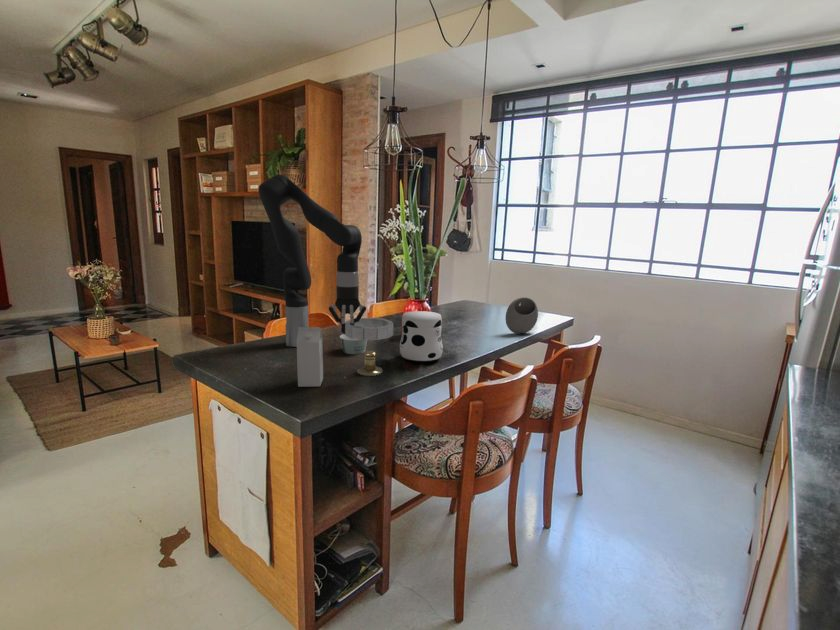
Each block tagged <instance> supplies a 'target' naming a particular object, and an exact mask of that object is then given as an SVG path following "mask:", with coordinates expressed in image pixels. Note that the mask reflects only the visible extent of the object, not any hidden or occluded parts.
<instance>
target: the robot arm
mask: <svg viewBox="0 0 840 630" xmlns="http://www.w3.org/2000/svg"><path fill="white" fill-rule="evenodd" d="M258 195H259V198H260V201H261V203H262V205H263V208H264V210H265V213H266V215H267V218H268V220H269V224H270V226H271V230H272V233H273V237H274V241H275V244H276V247H277V250H278V251H279V253H280V254H281V255H283V257H284V258H286V259H287V260H288V261H289V262H290V263H292V265H293V266H294V267H287V268H285V269H284V271H283V275H282V276H283V277H282V279H283V280H282V281H283V290H284V291H283V292H284V302H285V322H286V323H285V345H286V346H285V347H292V348H293V347H294V348H297V336H298V327H309V326H310V325H309V300H308V299H307V297H304V296H302V295H299V294H298V293H297V292H296V291H305V290H309V289H310V288H311V285H312V276H311V272H310V269H309V266H308V263H307V260H306V257H305V254H304V250H303V243H302V240H301V237H300V232H299V231H300V230H299V229H298V228H297V227H296V225H294V223H292V222H290V221H289V220H287V219H286V218H285V217H284V216H283V214H282V211H281V206H282V205H284V204H286V203H287V202H289V201H290V200H292V201H294V202H296V203H297V204H299V207H300V208H301V211H302V214H303V216H304V218H305V220H306V221H307V222H308V223H309V224H310V225H311V226H313V227H314V228H316V229H317V230H319V231H320V232H322V233H324V234H325V236H326V237H327V238H328V239H329V240H331V241H332V242H333V244H335V245H337V246H339V247H342V251H341V253H339V254H338V255H337V258H336V279H335V280H336V281H335V283H336V286H335V287H336V288H335V290H336V292H335V293H336V300H335V302H334V304H332V305H329V306H328V311H329V312H330V314H331V315H332V317H333V318H334V321H335V322H336V323H340V324H341V327H340V329H341V333H342V334H345V322H346V315H347V314H348V315H349V318H350V319H349V320H350V324H351V325H353V326H354V323H356V322H359V320H360V319H361V318H363V316H364V314H365V313H366V311H367V307H366V306H365V305H363V304H361V301H360V300H359V299H360V298H359V296H360V295H359V291H360V290H359V288H360V285H359V284H360V282H359V281H360V280H359V279H360V278H359V277H360V276H359V255H360V252H361V246H362V241H363V240H362V231H361V230H360V229H359V227H358V226H356V225H354V224H344V223H342V222H340V221H339V218H338V217H337V216H336V214H333V212H330V210H328V209H326V208H325V207H323V206H321V205H320V204H318V203H317V202H316V201H315V200H314V199H312V198H311V197H310V196H309V195H308V194H307V193H306V192H305V191H304V190H303V189H301V188H300V187H299V186H298V185H297V184H296V183H294V182H293V181H292V180H291V179H290V178H289V177H287V176H285V175H284V174H276V175H274V176H272V177H270V178H268V179H267V180H265V181H263V182H262V183H260V184H259V186H258ZM337 309H338V311H339V312H340V313H341V318H340V317H339V315H338V313H337V312H336V311H337ZM357 310H359V312H358V314H357V315H356V317H355V315H354V313H356V312H357ZM354 317H355V318H354Z"/></svg>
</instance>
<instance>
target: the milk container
mask: <svg viewBox="0 0 840 630" xmlns="http://www.w3.org/2000/svg"><path fill="white" fill-rule="evenodd" d="M442 320H443V319H442V315H441V314H440V313H438V312H433V311H426V310H423V311H422V310H417V311H407V312H404V313H403V314H402V318H401V323H402V324H401V338H400V342H399V355H400V356H401V357H402V359H404V360H405V361H409V362H413V363H431V362H435V361H437V360H440V358H441V357H442V355H443V351H444V344H443V340H442V323H443V321H442Z"/></svg>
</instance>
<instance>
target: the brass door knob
mask: <svg viewBox="0 0 840 630" xmlns="http://www.w3.org/2000/svg"><path fill="white" fill-rule="evenodd" d="M376 353H377V352H376V351H375V350H365V352H364V353H363V356H364V357H363V359H364V363H363V365H364V366H362V367H359V368H358V369H357V370H356V373H357V374H358V375H359V374H360V375H359V376H362V375H363V376H362V377H377V376H380V375H382V374H383V371H384V370H383V368H382V367H380V366H377V365H376V363H377V360H376V357H377V354H376ZM381 373H382V374H381ZM379 374H380V375H379ZM376 375H377V376H376Z"/></svg>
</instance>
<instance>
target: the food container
mask: <svg viewBox="0 0 840 630" xmlns="http://www.w3.org/2000/svg"><path fill="white" fill-rule="evenodd" d="M339 339H340V341H341V347H342V352H343V353H344V354H346V353H347V354H348V355H361V354H364V352H365V351H367V350H366V349H367V345H368V344H367V343H368V340H359V339H352V338H349V337H347V336H345V334H343V333H342V334H341V335H339Z"/></svg>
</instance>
